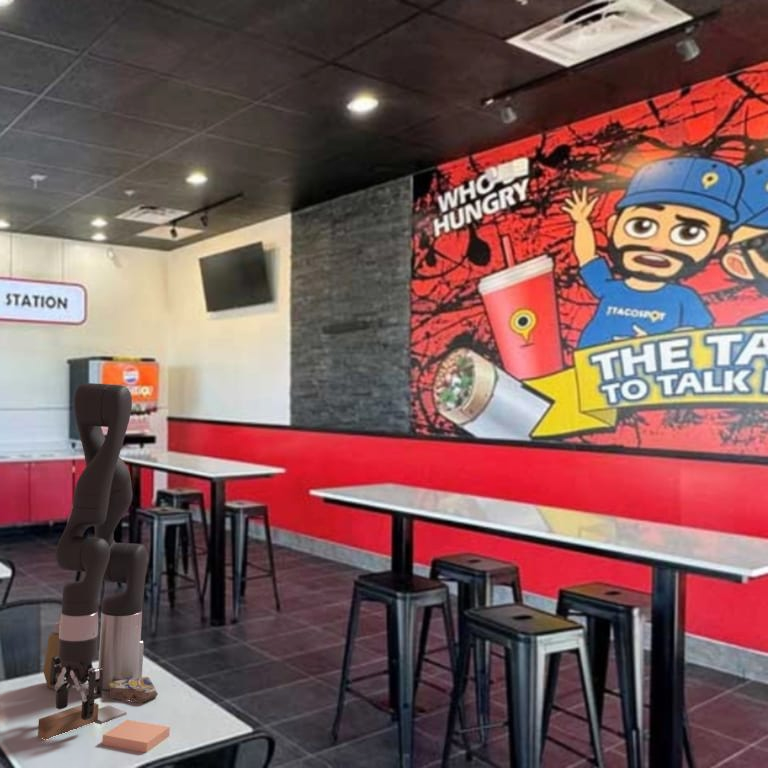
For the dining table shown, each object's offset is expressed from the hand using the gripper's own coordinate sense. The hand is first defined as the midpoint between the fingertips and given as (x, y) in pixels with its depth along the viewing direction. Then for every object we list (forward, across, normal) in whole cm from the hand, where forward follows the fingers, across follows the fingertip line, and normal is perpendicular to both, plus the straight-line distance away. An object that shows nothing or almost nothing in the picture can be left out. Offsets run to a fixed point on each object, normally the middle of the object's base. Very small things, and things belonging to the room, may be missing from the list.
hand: (74, 713), depth 159 cm
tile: (+2, -10, -3) cm, 10 cm away
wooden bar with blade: (+3, 0, -2) cm, 3 cm away
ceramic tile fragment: (+3, +5, -19) cm, 20 cm away
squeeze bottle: (+3, +22, -12) cm, 25 cm away
